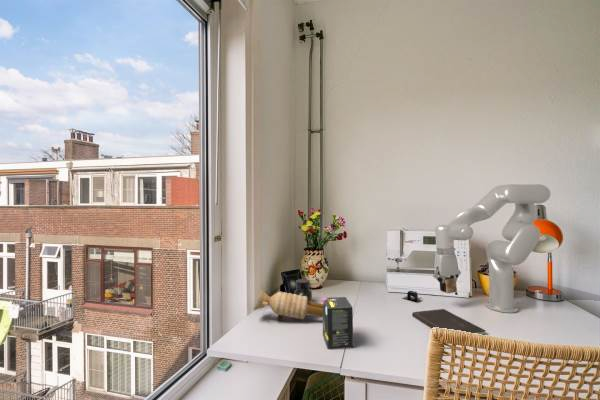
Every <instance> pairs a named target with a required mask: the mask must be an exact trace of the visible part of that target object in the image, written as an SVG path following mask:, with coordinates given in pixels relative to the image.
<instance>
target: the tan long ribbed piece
mask: <svg viewBox="0 0 600 400" xmlns="http://www.w3.org/2000/svg"><path fill="white" fill-rule="evenodd" d="M258 296H259V297H258V300H257V304H256V305H257V307H256V309H257V310H258V309H263V308H264V307H267V306H269V308H270V309H271V310H272V312H273V313H274V314H275V315H277V322H283V318H284V317H289V318H294V319H295V321H297V319H300V320H304V319H305V318H306V316H307V315H314V316H318V317H321V318H323V303H319V302H315V301H312V302H311V301H308V298H307V296H301V295H296V294H294V293H290V292H285V291H284V292H283V291H278V292H276V293H274V294H273V295H271V296H269V295H268V294H267V293H266V292H264V290H262V289H261V290H260V291H259V295H258Z"/></svg>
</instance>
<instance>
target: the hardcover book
mask: <svg viewBox="0 0 600 400" xmlns="http://www.w3.org/2000/svg"><path fill="white" fill-rule="evenodd" d="M411 316H412V317H413V318H415V319H416V320H418V321H419V322H421V323H423V325H426V326H427V327H428V328H430V329H432V328H433V327H439V328H447V329H454V330H461V331H466V332H471V333H478V334H484V335H485V332H486V331H487V330H485V329H484V328H482V327H481V326H478V325H476V324H474V323H473V322H470V321H468V320H466V319H465V318H462V317H460V316H457V315H456V314H455V313H452V312H450V311H449V310H447V309H444V308H438V309H431V310H430V309H429V310H421V311H413V312H412V314H411Z"/></svg>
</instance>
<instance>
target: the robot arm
mask: <svg viewBox="0 0 600 400" xmlns="http://www.w3.org/2000/svg"><path fill="white" fill-rule="evenodd" d="M550 198H551V190H550V188H548V186H547V185H543V184H541V183H540V184H520V183H519V184H514V183H513V184H512V183H511V184H501V185H497V186H495V187H493V188H492V189H491V190H490V191H488V192H487V193H486V195H484V196H483V197H482V198H481V199H479V201H478V202H477V203H475V204H474V205H473V206H471V207H469V208H467V209H466V210H464V211H462V212H460V213H459V214H457V216H456V217H454V218H453V219H452V220H451V221H450V222H449V223H448V224H438V225H436V226H435V227H434V233H435V246H436V254H435V255H434V264H433V265H434V267H433V268H434V269H433V270H434V273H433V275H432V277H433V278H434V279H436V281H438V283H439V291H440V290H441V292H443V291H444V292H443V293H445V292H446V283H444V282H445V277H451V278H454V279H456V282H457V281H458V278H459V276H460V275H461V273H462V271H461V270H460V269H459V263H458V258H457V255H456V253H455V251H456V248H455V242H454V241H468V240H470V239H472V237H473V235H474V229H473V228H472V227H471V225H473V224H475V223H479V222H481V221H485V220H488V219H490V218H492V217H493V216H494V215H495V214H496V213H497V212H499V210H501V209H502V208H503V207H504V206H505V205H506V204H514V206H515V209H514V212H513V213H512V215H511V216H510V218H509V219H508V221H507V222H506V223H505V225H504V227H503V228H502V230H501V236H502V237H503V239H504V240H501V239H500V240H499V239H498V240H497V239H496V240H492V241H490V242H489V243H488V244H487V246H486V252H485V253H486V257H487V258H486V259H487V261H488V289H489V290H488V292H489V293H488V298H489V301H486V302H485V307H486V308H488V309H490V310H492V311H495V312H500V313H506V314H507V313H508V314H513V313H517V312H519V308H518V306H516V305H517V304H521V303H522V300H521V299H520V298H515V294H514V292H515V290H514V289H515V287H514V286H515V284H514V281H515V280H514V275H515V274H514V268H513V266H519V265H520V264H521V265H522V264H523V263H524V262H525V261H526V260H527V259H528V257H529V256H530V255H531V253H532V252H533V251H534V249H535V247H536V246H537V244H538V243H539V241H540V237H541V232H540V231H541V230H540V228H539V227H538V226H537V225H535V224H534V223H535V220H536V219H537V215H538V212H537V208H536V205H535V204H538V205H540V204H543V203H546V202H547V201H548V200H549V199H550ZM505 240H506V241H505ZM441 278H442V279H441Z"/></svg>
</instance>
